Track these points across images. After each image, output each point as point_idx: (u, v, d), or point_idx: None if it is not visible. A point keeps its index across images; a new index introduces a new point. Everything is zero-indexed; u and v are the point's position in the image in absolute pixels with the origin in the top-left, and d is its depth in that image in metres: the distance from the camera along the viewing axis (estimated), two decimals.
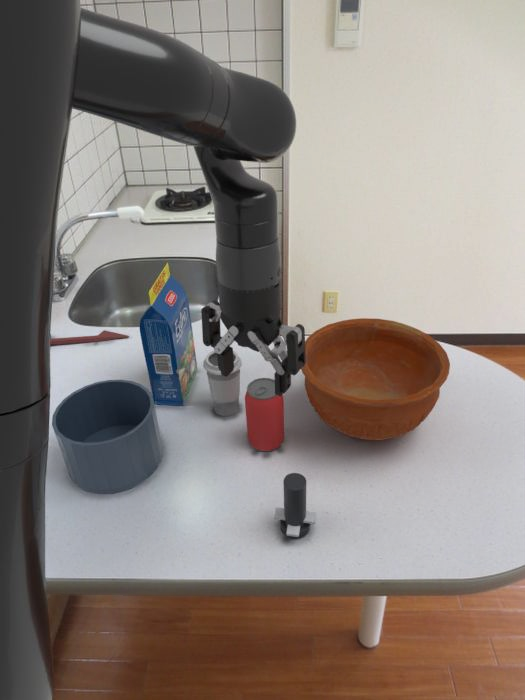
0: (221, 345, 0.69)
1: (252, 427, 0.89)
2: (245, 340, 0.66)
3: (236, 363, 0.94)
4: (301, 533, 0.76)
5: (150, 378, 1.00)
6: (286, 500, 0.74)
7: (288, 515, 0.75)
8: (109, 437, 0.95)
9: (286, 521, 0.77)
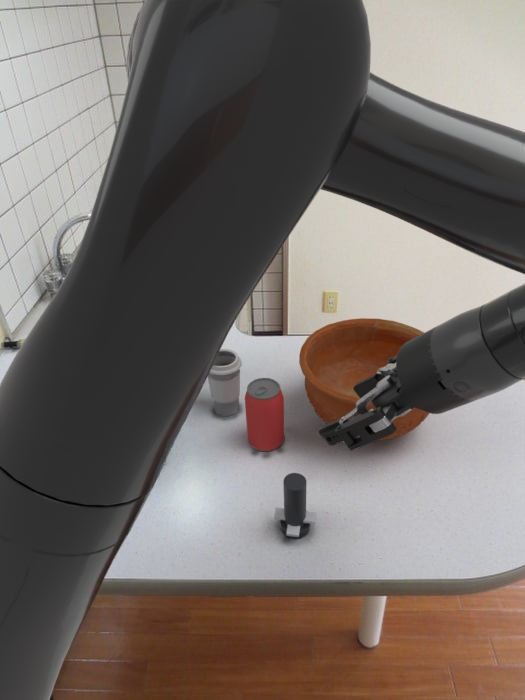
0: None
1: (252, 427, 0.89)
2: None
3: (236, 363, 0.94)
4: (301, 533, 0.76)
5: None
6: (286, 500, 0.74)
7: (288, 515, 0.75)
8: None
9: (286, 521, 0.77)
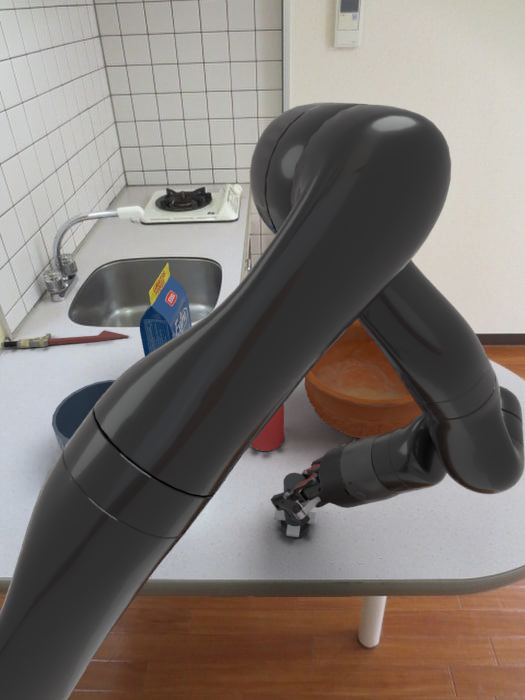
0: None
1: None
2: None
3: None
4: (301, 533, 0.76)
5: None
6: None
7: None
8: None
9: (286, 521, 0.77)
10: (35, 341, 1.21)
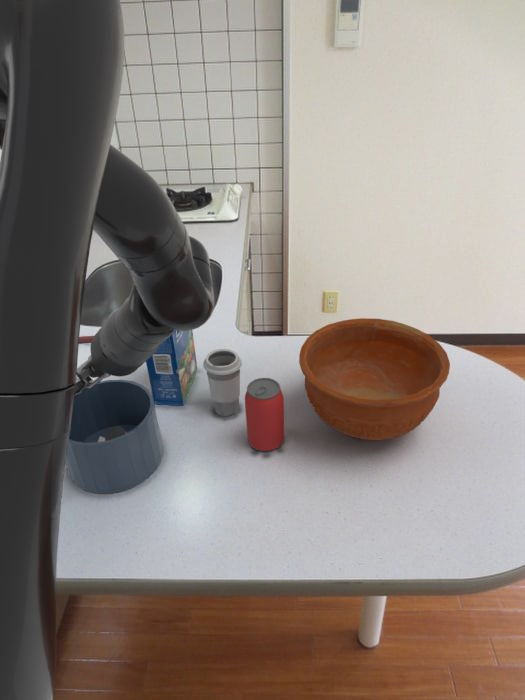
0: None
1: (252, 427, 0.89)
2: None
3: (236, 363, 0.94)
4: None
5: (150, 378, 1.00)
6: None
7: None
8: None
9: None
10: None
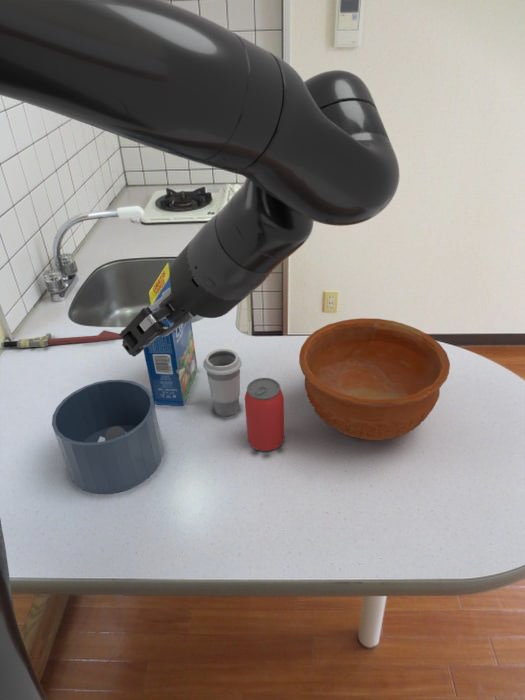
0: None
1: (252, 427, 0.89)
2: None
3: (236, 363, 0.94)
4: None
5: (150, 378, 1.00)
6: None
7: None
8: None
9: None
10: (35, 341, 1.21)
